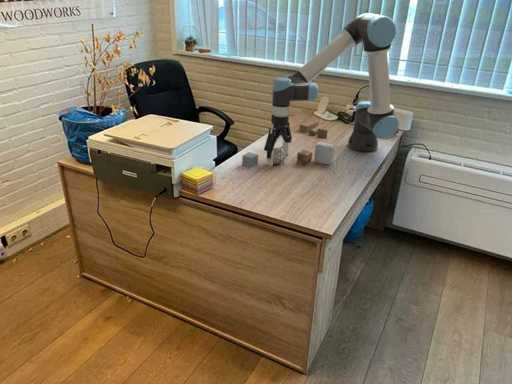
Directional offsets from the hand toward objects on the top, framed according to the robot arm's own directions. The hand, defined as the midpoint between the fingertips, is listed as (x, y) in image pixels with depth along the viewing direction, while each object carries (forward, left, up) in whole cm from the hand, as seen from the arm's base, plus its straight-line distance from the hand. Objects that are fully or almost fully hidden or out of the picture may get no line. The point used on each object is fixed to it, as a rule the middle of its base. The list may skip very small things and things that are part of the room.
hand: (277, 160), depth 197 cm
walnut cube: (-9, -9, -2) cm, 13 cm away
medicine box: (-16, -15, -2) cm, 22 cm away
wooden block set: (+5, -54, -3) cm, 54 cm away
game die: (0, 0, -2) cm, 2 cm away
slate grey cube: (+9, +9, -2) cm, 13 cm away
